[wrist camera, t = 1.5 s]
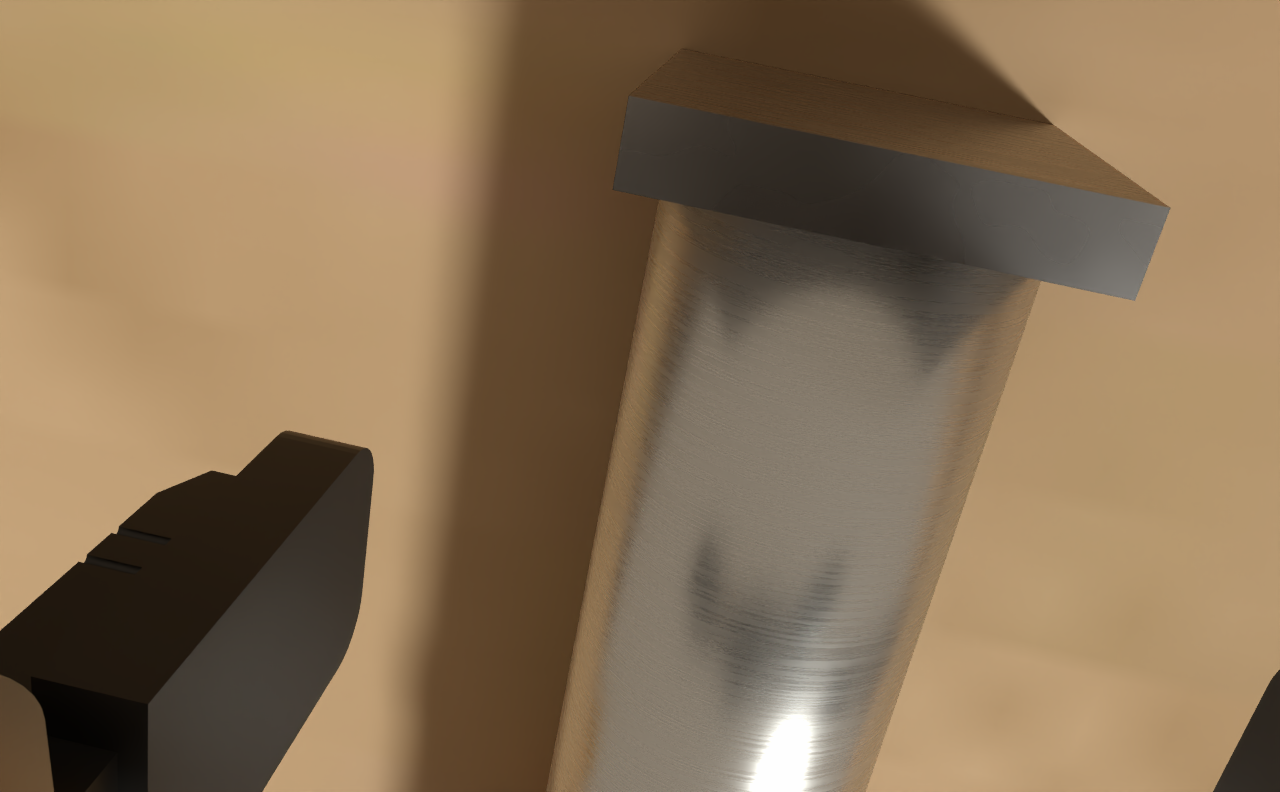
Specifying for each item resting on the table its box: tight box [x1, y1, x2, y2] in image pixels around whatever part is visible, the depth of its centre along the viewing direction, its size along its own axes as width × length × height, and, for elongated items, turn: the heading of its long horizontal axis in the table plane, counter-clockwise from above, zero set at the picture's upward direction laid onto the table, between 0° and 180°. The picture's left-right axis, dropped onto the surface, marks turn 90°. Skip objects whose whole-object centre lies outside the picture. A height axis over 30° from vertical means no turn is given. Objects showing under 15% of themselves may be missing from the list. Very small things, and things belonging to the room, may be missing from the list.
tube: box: [546, 49, 1170, 792], centre depth 18 cm, size 6×22×6 cm, turn 169°
